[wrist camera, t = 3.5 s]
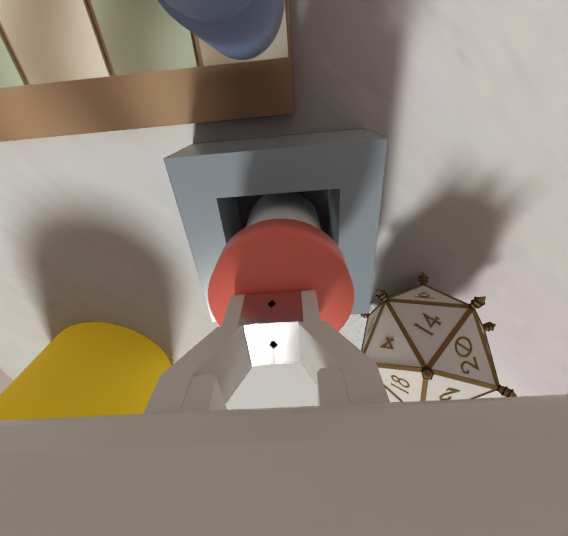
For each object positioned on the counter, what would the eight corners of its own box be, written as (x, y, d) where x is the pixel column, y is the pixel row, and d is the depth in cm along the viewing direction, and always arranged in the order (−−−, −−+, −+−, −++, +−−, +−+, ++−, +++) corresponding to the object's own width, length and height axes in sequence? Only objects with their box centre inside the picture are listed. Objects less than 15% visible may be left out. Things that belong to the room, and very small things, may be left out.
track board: (279, -151, 10) (279, -176, 9) (294, 112, 14) (294, 113, 13) (-141, -89, 10) (-179, -106, 10) (-6, 141, 15) (-24, 143, 14)
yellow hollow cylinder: (55, 381, 26) (-50, 510, 18) (52, 306, 21) (-96, 437, 13) (162, 406, 28) (112, 533, 20) (183, 343, 23) (126, 477, 15)
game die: (365, 268, 23) (339, 275, 14) (487, 273, 20) (556, 287, 11) (361, 371, 23) (333, 443, 14) (479, 394, 20) (540, 506, 11)
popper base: (363, 128, 14) (387, 138, 11) (354, 274, 19) (369, 313, 15) (192, 144, 15) (163, 158, 11) (225, 282, 19) (212, 321, 16)
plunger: (329, 174, 14) (358, 231, 8) (328, 260, 17) (350, 349, 11) (230, 182, 14) (190, 242, 9) (245, 266, 17) (224, 355, 11)
